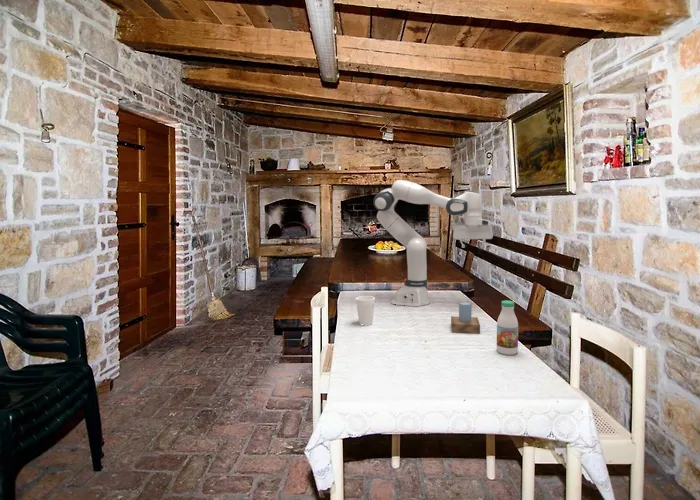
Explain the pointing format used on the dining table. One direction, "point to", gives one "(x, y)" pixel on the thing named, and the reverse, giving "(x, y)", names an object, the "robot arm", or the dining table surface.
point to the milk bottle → (507, 329)
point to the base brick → (465, 325)
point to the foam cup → (365, 309)
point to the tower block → (465, 312)
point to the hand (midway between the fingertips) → (472, 247)
